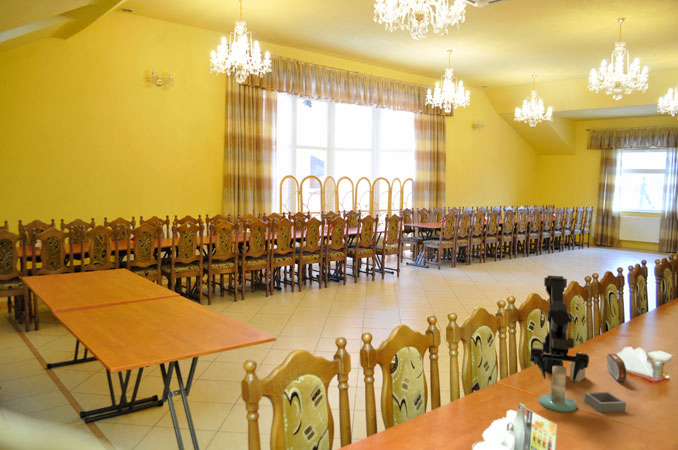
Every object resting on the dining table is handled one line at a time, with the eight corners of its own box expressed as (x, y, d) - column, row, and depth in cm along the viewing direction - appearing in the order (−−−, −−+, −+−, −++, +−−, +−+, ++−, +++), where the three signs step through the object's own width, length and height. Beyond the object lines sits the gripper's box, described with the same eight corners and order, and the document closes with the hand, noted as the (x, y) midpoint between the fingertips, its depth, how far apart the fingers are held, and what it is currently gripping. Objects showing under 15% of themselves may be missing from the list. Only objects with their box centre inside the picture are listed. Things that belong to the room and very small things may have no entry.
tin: (626, 384, 193) (627, 363, 192) (617, 384, 193) (618, 362, 193) (613, 370, 207) (614, 350, 207) (605, 370, 208) (606, 350, 207)
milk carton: (569, 379, 197) (570, 354, 196) (575, 374, 202) (576, 350, 202) (579, 382, 195) (580, 356, 194) (585, 377, 200) (586, 352, 199)
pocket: (584, 401, 177) (584, 392, 177) (608, 400, 178) (608, 391, 178) (600, 412, 168) (600, 403, 168) (625, 411, 169) (625, 402, 169)
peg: (548, 399, 176) (549, 365, 175) (559, 398, 177) (561, 365, 176) (555, 404, 172) (557, 370, 171) (567, 403, 172) (569, 369, 172)
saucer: (532, 402, 176) (532, 399, 176) (551, 394, 183) (551, 391, 183) (564, 415, 166) (564, 412, 166) (583, 406, 173) (583, 403, 173)
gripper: (531, 325, 180) (530, 366, 170) (589, 331, 173) (592, 373, 164) (530, 341, 187) (529, 380, 178) (586, 347, 181) (588, 388, 172)
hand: (559, 380), depth 173 cm, fingers open, 9 cm apart
